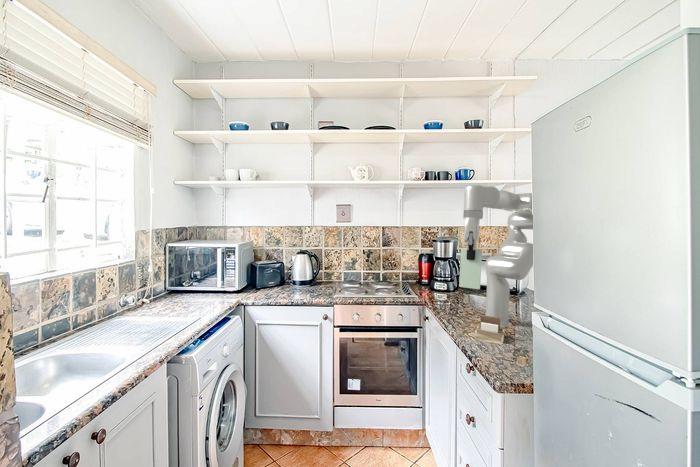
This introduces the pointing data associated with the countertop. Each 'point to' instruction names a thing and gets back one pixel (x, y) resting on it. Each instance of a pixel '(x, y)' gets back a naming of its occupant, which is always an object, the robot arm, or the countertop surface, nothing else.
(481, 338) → the rack
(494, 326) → the white offcut
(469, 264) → the green panel
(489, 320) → the walnut offcut
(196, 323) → the countertop surface
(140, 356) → the countertop surface
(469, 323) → the shard
